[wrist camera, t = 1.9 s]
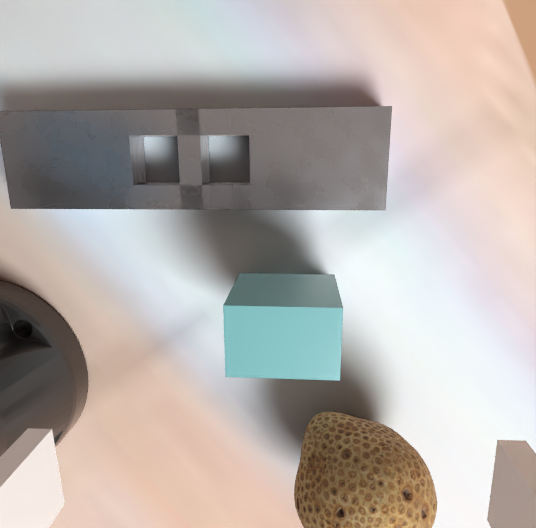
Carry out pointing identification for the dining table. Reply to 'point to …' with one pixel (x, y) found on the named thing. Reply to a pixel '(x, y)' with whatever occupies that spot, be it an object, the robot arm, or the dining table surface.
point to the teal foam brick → (283, 327)
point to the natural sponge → (361, 477)
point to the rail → (198, 158)
